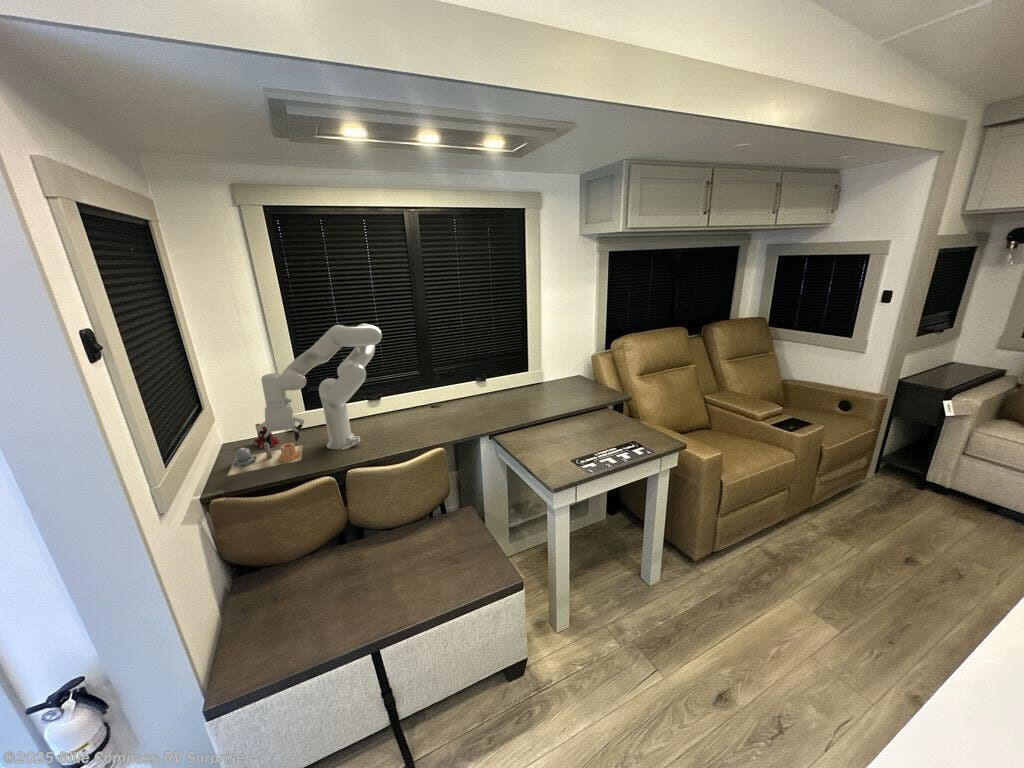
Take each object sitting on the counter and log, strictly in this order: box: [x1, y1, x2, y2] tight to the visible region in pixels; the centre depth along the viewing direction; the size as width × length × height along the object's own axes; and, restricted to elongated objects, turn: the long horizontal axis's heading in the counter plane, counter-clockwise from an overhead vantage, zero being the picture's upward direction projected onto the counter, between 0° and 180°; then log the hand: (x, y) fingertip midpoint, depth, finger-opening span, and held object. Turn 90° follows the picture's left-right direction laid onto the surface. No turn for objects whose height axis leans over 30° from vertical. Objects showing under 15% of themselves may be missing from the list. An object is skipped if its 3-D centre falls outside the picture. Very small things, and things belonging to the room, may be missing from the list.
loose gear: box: [279, 442, 300, 462], centre depth 163 cm, size 8×8×6 cm
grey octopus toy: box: [232, 447, 257, 468], centre depth 160 cm, size 8×8×7 cm
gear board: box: [226, 442, 304, 477], centre depth 162 cm, size 26×16×8 cm, turn 116°
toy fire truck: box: [253, 423, 280, 450], centre depth 177 cm, size 7×12×10 cm, turn 57°
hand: (283, 442), depth 161 cm, fingers open, 9 cm apart
